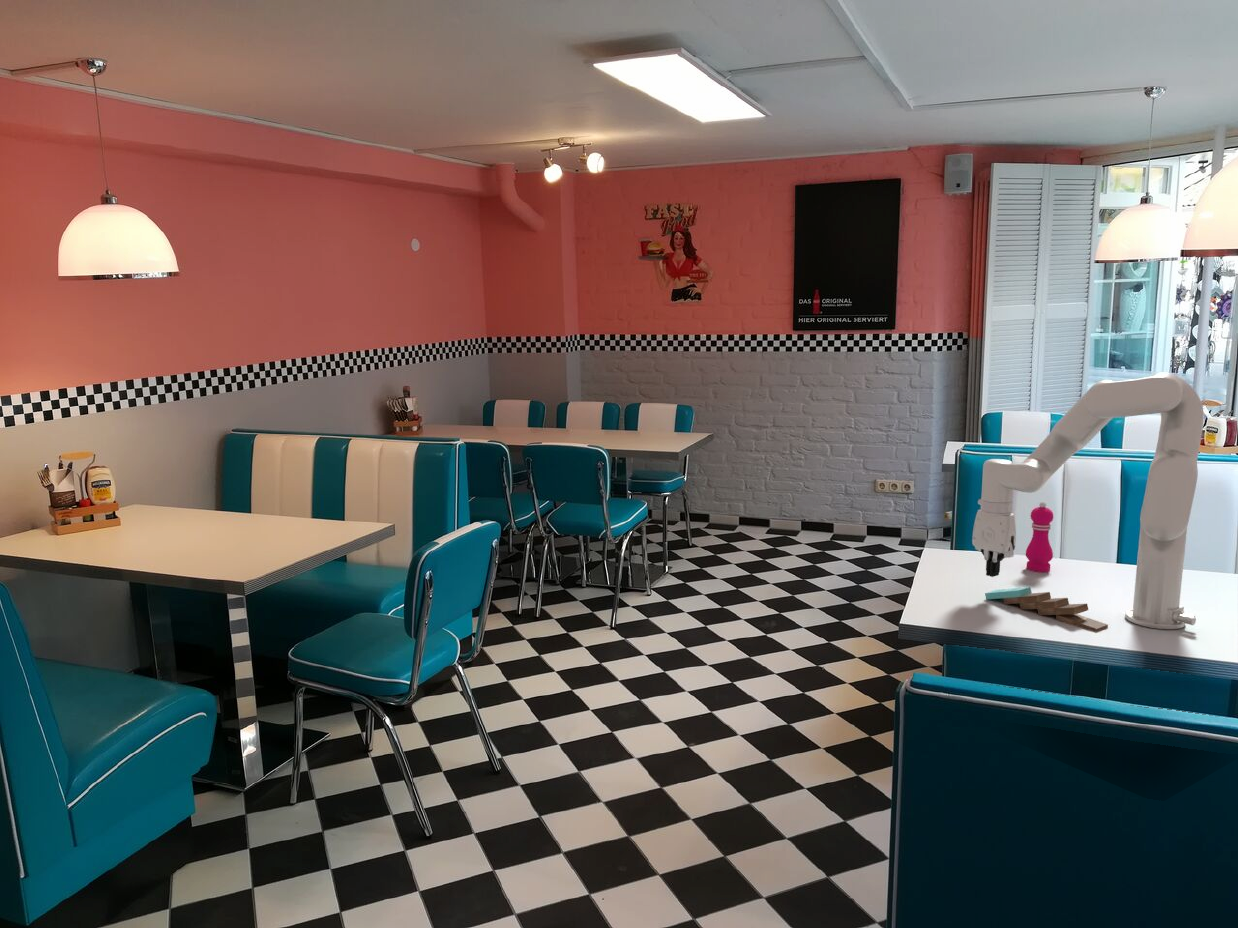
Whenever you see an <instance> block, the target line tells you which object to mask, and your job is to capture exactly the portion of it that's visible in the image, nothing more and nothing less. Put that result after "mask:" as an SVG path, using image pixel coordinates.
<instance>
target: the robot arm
mask: <svg viewBox="0 0 1238 928" xmlns="http://www.w3.org/2000/svg"><path fill="white" fill-rule="evenodd" d="M1155 414H1160V425H1159V426H1160V427H1159V431H1158V438H1157V444H1156V447H1155V448H1156V449H1155V452H1154V456H1153V459H1152V461H1151V463H1150V467H1149V470H1148V475H1147V480H1146V485H1145V490H1144V491H1145V493H1144V496H1143V502H1142V505H1141V510H1140V516H1139V520H1140V521H1139V523H1140V527H1139V528H1140V529H1139V539H1138V551H1137V558H1136V559H1137V561H1136V569H1135V570H1136V571H1135V583H1134V592H1133V593H1134V594H1133V604H1132V608H1130V609H1128V610H1127V609H1126V611H1125V614H1124V617H1125V618H1126V620H1128V622H1131V623H1133V624H1136V625H1138V626H1143V627H1146V628H1151V629H1158V630H1178V629H1182V628H1184V627H1185V626H1186V625H1190V626H1195V625H1196V621H1197V619H1196V615H1195V614H1191V613H1186V612H1185V610H1184V608H1185V607H1184V605H1180V602H1181V593H1182V584H1183V580H1182V579H1183V572H1184V562H1185V553H1186V542H1187V534H1188V533H1187V532H1188V531H1187V530H1188V526H1189V521H1190V518H1191V517H1190V516H1191V512H1192V507H1193V501H1194V497H1195V493H1196V489H1197V483H1198V475H1199V473H1198V472H1199V470H1198V469H1199V468H1198V457H1199V453H1200V446H1201V443H1202V442H1201V440H1202V434H1203V429H1204V420H1205V419H1204V417H1205V416H1204V406H1203V404H1202V400H1201V398H1200V396H1199V394H1198V393H1197V391H1196V390H1195V388H1193V386H1192V385H1190V384H1189V383H1188V382H1187V381H1186V380H1184V379H1183V378H1182V377H1180V376H1178V375H1177V374H1173V373H1171V372H1163V371H1162V372H1156V373H1154V374H1152V375H1150V376H1147V377H1141V378H1136V379H1127V380H1119V381H1114V380H1111V379H1104V380H1099V381H1097V382H1095V383H1094V384H1093V385H1092V386H1090V387H1089V389H1088V390H1087V391H1086V392H1085V393H1084V394H1083V395H1082V396H1081V397H1080V399H1078V401H1076V403H1074V404H1073V406H1072V407H1071V408H1070V409H1069V410H1068V411H1067V412H1066V413H1065V414H1064V415H1062V417H1061V418H1060V419H1059V420H1058V421H1057V422H1056V423H1055V424H1054V426H1053V427H1052V429H1051V431H1050V432H1049V434H1048V435H1047V436H1046V437H1045V439H1044V440H1042V441H1041V443H1040V444H1039V445H1038V446H1037V447H1036V448H1035V449H1034V450H1033V451H1032V452H1031V453H1030V454H1029V455H1028V456H1027V458H1025V459H1024V460H1023V461H1022V462H1021V463H1014V462H1013V461H1012V460H1009V459H1004V458H1003V459H1001V458H991V459H987V460H985V461H984V463H983V466H982V467H983V468H982V484H981V497H980V499H979V498H978V501H977V504H978V505H980V509H977V512H976V514H975V519H974V524H973V530H972V540H971V542H972V545H973V546H974V549H975V550H976V551H979V552H981V554H982V555H983V557H984V558H983V559H984V560H985V561H986V564H985V575H986V576H987V577H991V578H994V577H996V576H999V575H1000V571H1001V562H1002V561H1004V560H1003V559H1007V558H1008V559H1009V558H1013V557H1014V556H1015V555H1014V551H1015V549H1016V542H1017V540H1016V539H1017V537H1016V536H1017V533H1016V532H1017V529H1016V519H1015V514H1014V513H1013V504H1014V503H1013V501H1014V500H1013V498H1014V491H1016V492H1021V493H1036V492H1038V491H1039V490H1042V488H1043V487H1044V486H1045V485H1046V483H1047V482H1048V480H1049V479H1050V478H1051V477H1052V476H1053V475H1054V474H1055V473H1056V472H1057V471H1058V470H1059V469H1060V468H1061V467H1062V466H1064V464H1065V463H1066V462H1067V461H1068V460H1069V459H1070V458H1072V456H1073V455H1074V454H1076V453H1078V452H1080V451H1082V449H1084V448H1085V447H1086V446H1087V445H1088V444H1089V443H1090V441H1092V440H1093V439H1094V438H1095V437H1096V436H1097V434H1099V433H1100V432H1101V430H1102V429H1104V427H1105V426H1107V425H1108V423H1109V422H1110V421H1112V420H1113V418H1116V419H1117V418H1127V417H1137V416H1144V415H1145V416H1146V415H1155Z"/></svg>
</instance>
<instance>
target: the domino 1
mask: <svg viewBox="0 0 1238 928" xmlns="http://www.w3.org/2000/svg"><path fill="white" fill-rule="evenodd" d="M1031 593H1033V592H1032V589H1031V586H1027V587H1025V586H1024V587H1015V588H1004V589H1003V588H1002V589H994V590H992V591H988V592H985V593H984V595H985V596H984V597H985V599H986V600H997V599H1003V598H1010V597H1021V596H1024V595H1027V594H1031Z"/></svg>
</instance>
